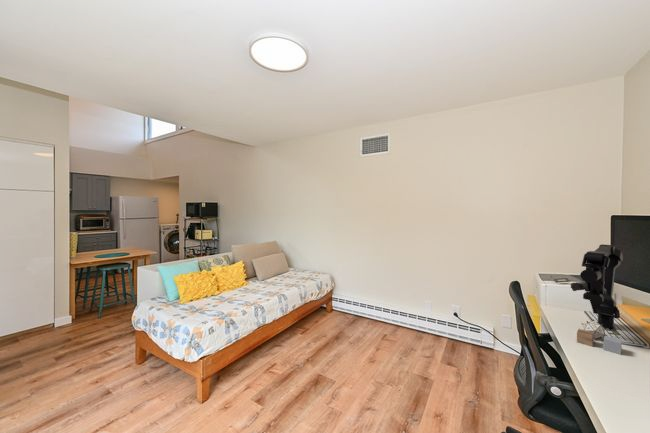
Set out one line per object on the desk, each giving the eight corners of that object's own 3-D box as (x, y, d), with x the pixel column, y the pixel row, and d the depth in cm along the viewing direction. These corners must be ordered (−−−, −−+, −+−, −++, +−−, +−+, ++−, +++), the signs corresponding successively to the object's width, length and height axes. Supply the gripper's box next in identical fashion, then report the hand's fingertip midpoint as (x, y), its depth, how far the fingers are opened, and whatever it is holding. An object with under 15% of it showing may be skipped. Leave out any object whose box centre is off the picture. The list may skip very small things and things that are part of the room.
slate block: (604, 346, 117) (604, 335, 117) (621, 350, 113) (621, 339, 113) (603, 350, 114) (603, 339, 114) (620, 355, 110) (621, 343, 110)
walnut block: (578, 338, 124) (578, 328, 124) (593, 343, 120) (593, 332, 120) (576, 342, 121) (577, 331, 121) (592, 346, 117) (592, 336, 117)
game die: (599, 347, 123) (617, 336, 117) (580, 339, 125) (597, 328, 119) (591, 330, 130) (608, 319, 124) (572, 323, 132) (588, 312, 125)
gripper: (575, 272, 136) (574, 301, 136) (568, 278, 124) (568, 311, 125) (606, 276, 127) (605, 307, 128) (602, 284, 115) (601, 318, 116)
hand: (594, 311), depth 124 cm, fingers closed
